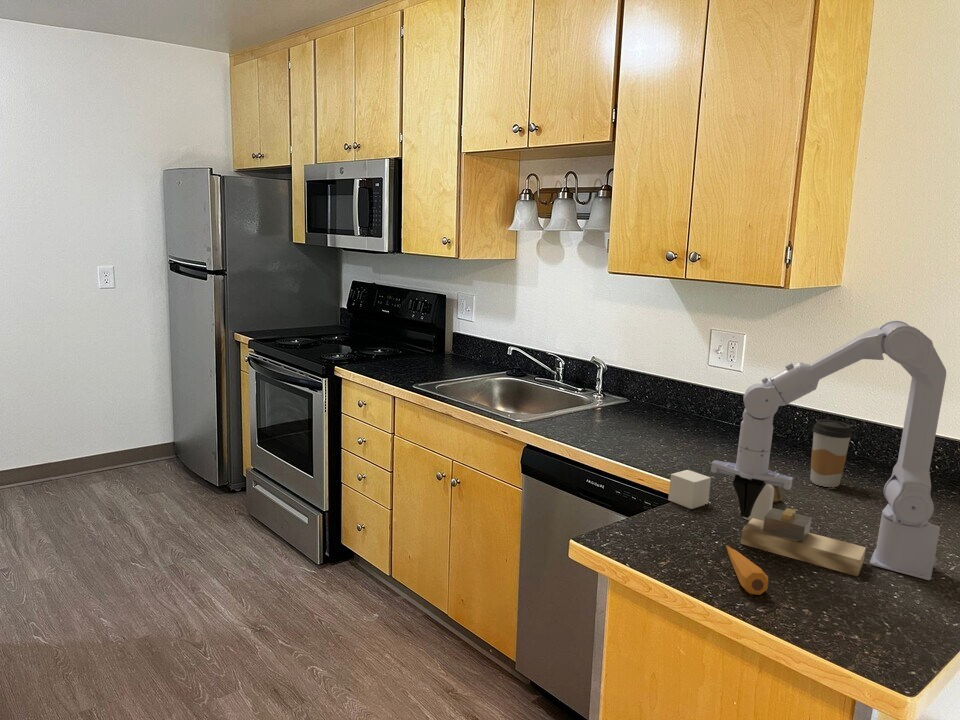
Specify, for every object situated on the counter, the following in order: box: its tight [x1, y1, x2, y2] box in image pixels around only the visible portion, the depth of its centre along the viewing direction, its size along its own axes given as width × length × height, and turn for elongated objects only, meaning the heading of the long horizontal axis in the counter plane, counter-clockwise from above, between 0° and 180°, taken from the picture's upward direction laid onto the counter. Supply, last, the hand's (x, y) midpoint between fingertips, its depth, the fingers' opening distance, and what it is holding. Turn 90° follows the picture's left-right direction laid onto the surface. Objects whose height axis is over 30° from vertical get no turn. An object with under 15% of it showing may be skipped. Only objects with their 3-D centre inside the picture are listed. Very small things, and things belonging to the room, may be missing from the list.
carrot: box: [725, 544, 769, 596], centre depth 128 cm, size 20×4×4 cm, turn 176°
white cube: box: [667, 469, 712, 510], centre depth 159 cm, size 6×6×6 cm
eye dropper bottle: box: [740, 484, 774, 522], centre depth 150 cm, size 4×6×12 cm
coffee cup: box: [809, 419, 853, 488], centre depth 176 cm, size 8×8×15 cm
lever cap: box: [763, 507, 812, 542], centre depth 137 cm, size 7×6×4 cm
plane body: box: [740, 518, 867, 577], centre depth 136 cm, size 20×7×3 cm, turn 56°
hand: (745, 515), depth 142 cm, fingers closed
